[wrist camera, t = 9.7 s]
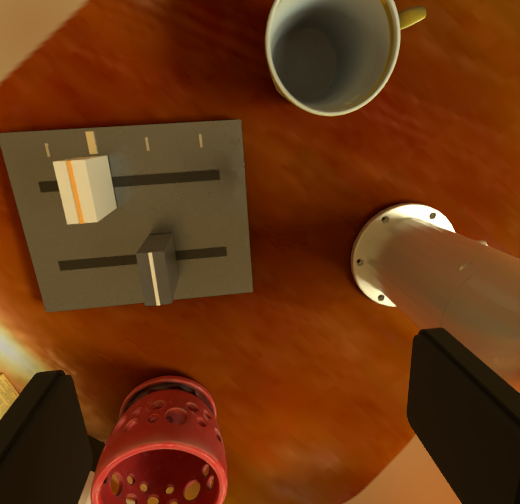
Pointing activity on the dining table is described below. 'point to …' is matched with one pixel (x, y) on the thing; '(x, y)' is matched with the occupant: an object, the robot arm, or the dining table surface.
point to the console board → (135, 210)
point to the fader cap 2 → (158, 269)
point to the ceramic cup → (334, 50)
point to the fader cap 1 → (85, 188)
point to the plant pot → (163, 446)
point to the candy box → (6, 394)
